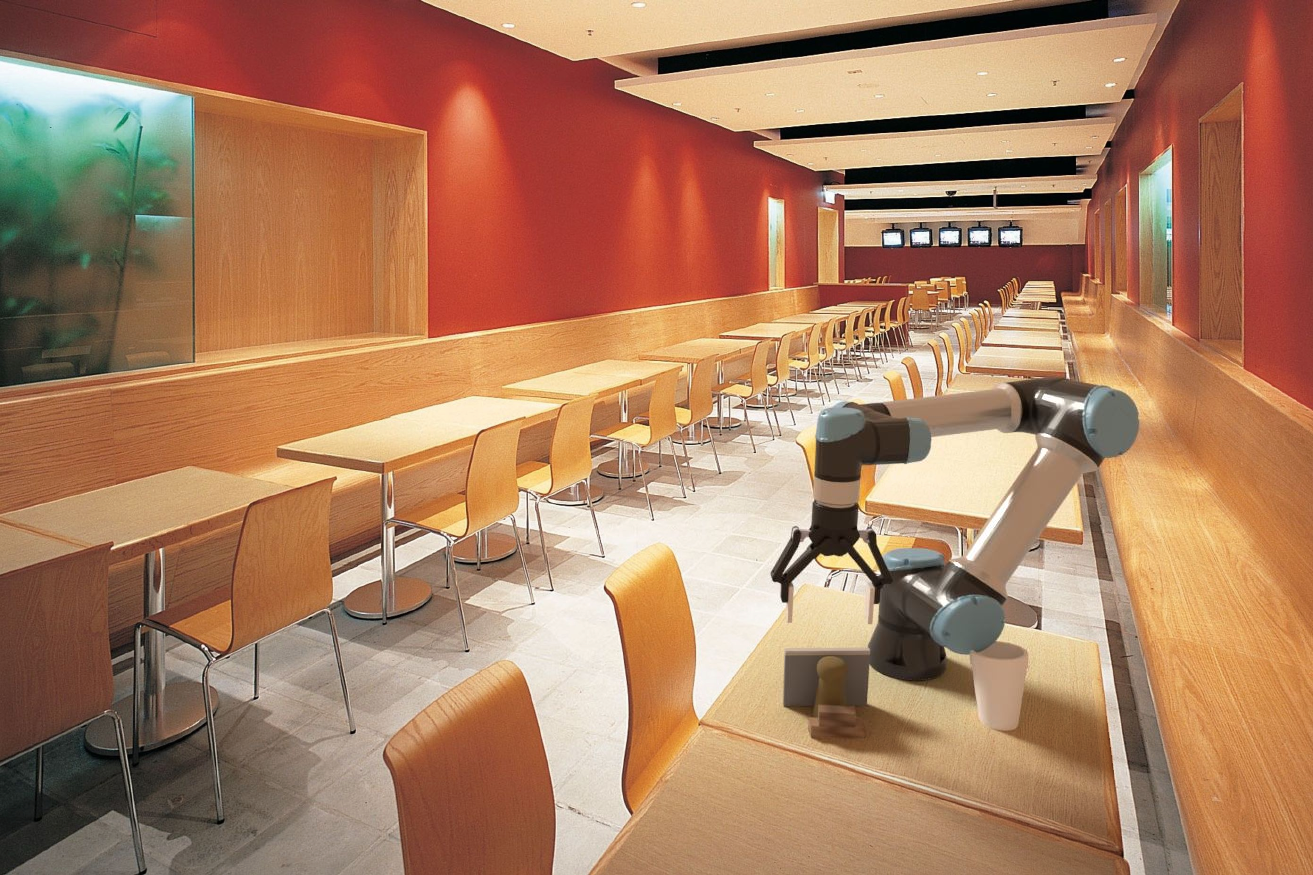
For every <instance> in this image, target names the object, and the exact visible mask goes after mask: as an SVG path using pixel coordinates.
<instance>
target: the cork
mask: <svg viewBox="0 0 1313 875" xmlns="http://www.w3.org/2000/svg"><path fill="white" fill-rule="evenodd" d="M817 673H818V675H819V677H820V678H819V683H818V688H817V693H816V699H815V704H814V706H813V710H812V715H811V716H812V718H818V705H836V706H846V699H845V688H844V679H845V678H846V675H847V665H846V663H845V662H844V661H843V660H842V659H840V658H838V657H834V656H827V657H824V658H821V659H820V660H819V662H818V664H817Z"/></svg>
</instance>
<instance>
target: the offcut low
mask: <svg viewBox="0 0 1313 875" xmlns="http://www.w3.org/2000/svg"><path fill="white" fill-rule="evenodd" d="M807 726H808V734H809V736H810V738H819V739H820V738H824V739H825V738H842V739H843V738H845V739H846V738H848V739H849V738H850V739H851V738H852V739H853V738H856V739H857V738H861V739H862V738H863V739H864V738H865V735H866V734H865V733H866V725H865V723H864V721H863V718H862V717H856V723H855V727H837V726H819V723H818V718H813V717H808V725H807Z"/></svg>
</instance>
